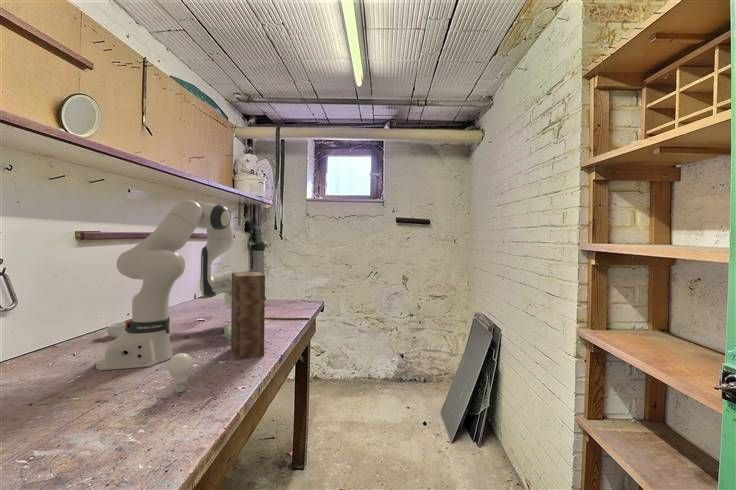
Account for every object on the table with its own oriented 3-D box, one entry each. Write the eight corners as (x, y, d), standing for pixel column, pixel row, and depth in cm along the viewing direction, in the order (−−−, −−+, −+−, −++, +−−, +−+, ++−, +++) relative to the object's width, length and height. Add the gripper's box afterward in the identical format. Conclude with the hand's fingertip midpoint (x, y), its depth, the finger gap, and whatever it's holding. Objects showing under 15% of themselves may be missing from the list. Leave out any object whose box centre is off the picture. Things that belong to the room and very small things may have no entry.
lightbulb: (185, 397, 96) (185, 357, 96) (162, 397, 96) (162, 357, 96) (197, 387, 102) (197, 350, 102) (175, 387, 102) (175, 349, 102)
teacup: (128, 337, 151) (128, 325, 150) (106, 340, 146) (106, 327, 146) (129, 332, 159) (129, 320, 159) (108, 334, 155) (108, 322, 154)
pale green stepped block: (229, 340, 149) (229, 334, 149) (217, 330, 164) (218, 325, 164) (248, 337, 154) (248, 332, 154) (235, 327, 169) (235, 322, 169)
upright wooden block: (235, 360, 125) (236, 276, 125) (231, 348, 138) (231, 272, 137) (264, 356, 130) (264, 275, 129) (257, 345, 142) (258, 271, 142)
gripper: (211, 285, 162) (213, 272, 152) (257, 283, 172) (262, 271, 161) (212, 298, 160) (214, 286, 149) (258, 295, 169) (263, 284, 158)
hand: (239, 278), depth 155 cm, fingers open, 8 cm apart
